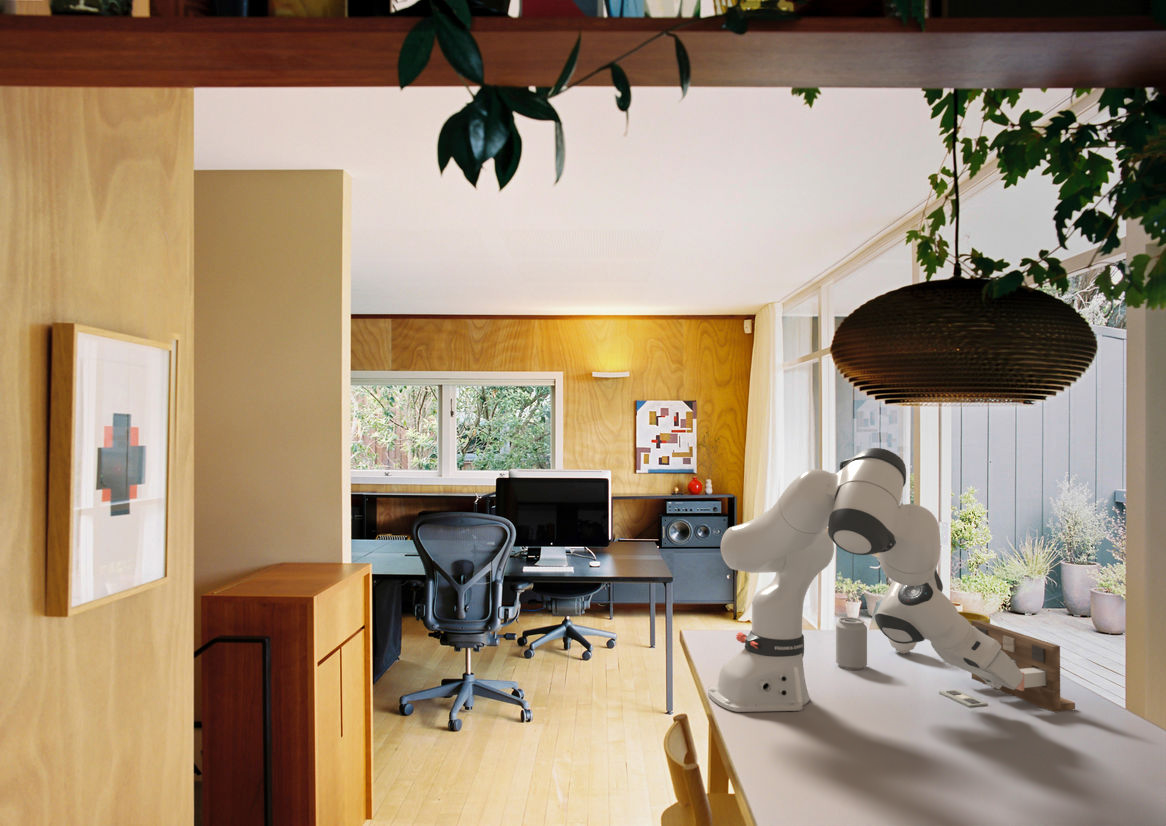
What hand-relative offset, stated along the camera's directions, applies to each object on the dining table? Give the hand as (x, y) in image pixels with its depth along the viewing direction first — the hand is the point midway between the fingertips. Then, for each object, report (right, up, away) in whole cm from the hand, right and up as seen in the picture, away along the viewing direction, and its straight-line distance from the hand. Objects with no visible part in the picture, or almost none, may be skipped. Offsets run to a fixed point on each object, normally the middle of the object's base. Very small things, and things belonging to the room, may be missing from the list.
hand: (996, 684), depth 164 cm
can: (-20, -7, +31) cm, 38 cm away
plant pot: (+17, -7, +45) cm, 49 cm away
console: (+12, -6, +12) cm, 18 cm away
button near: (+9, -1, +3) cm, 10 cm away
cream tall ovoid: (-2, -7, +43) cm, 44 cm away
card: (-3, -6, +8) cm, 10 cm away
